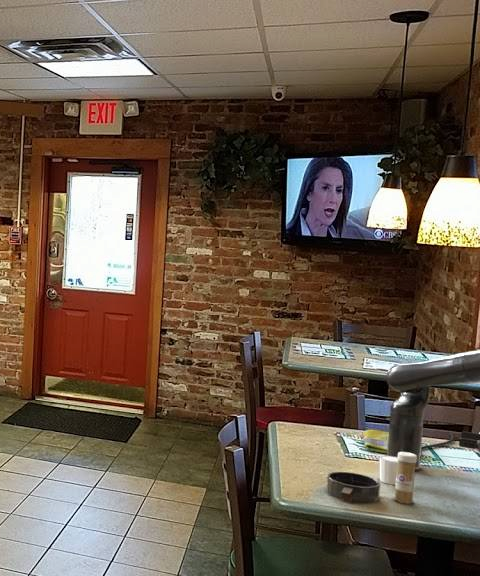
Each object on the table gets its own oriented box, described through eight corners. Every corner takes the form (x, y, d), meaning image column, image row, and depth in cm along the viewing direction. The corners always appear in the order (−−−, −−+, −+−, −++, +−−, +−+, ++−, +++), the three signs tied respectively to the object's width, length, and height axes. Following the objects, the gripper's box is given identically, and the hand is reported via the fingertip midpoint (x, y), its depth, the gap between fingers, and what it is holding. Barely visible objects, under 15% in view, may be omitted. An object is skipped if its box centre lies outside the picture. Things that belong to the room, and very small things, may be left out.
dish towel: (362, 450, 261) (362, 442, 261) (364, 434, 282) (364, 427, 282) (421, 459, 253) (422, 451, 252) (418, 442, 274) (419, 434, 274)
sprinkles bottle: (392, 501, 212) (396, 453, 211) (396, 497, 215) (399, 450, 214) (411, 505, 209) (415, 457, 208) (414, 501, 212) (418, 453, 211)
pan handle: (344, 499, 212) (345, 486, 211) (352, 501, 210) (353, 488, 210) (339, 506, 207) (340, 492, 206) (348, 508, 205) (349, 493, 205)
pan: (331, 483, 225) (332, 468, 225) (382, 494, 217) (383, 478, 217) (322, 495, 214) (323, 480, 214) (374, 507, 207) (376, 490, 206)
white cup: (394, 486, 224) (396, 463, 224) (372, 479, 230) (374, 456, 230) (408, 483, 227) (410, 460, 227) (386, 476, 234) (388, 454, 233)
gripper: (536, 430, 200) (463, 419, 209) (537, 442, 188) (459, 430, 197) (534, 458, 200) (460, 446, 210) (535, 472, 189) (457, 458, 198)
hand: (460, 438), depth 204 cm, fingers open, 8 cm apart
